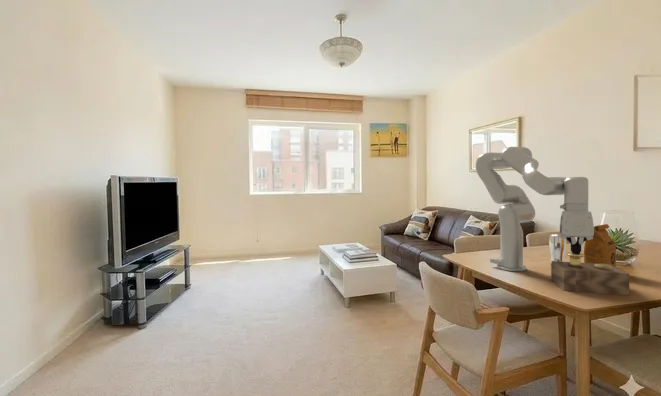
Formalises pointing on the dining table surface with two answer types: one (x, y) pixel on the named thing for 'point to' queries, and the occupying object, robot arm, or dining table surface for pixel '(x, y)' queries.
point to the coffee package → (600, 247)
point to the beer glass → (557, 247)
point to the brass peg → (575, 259)
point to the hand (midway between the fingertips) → (575, 253)
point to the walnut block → (590, 278)
